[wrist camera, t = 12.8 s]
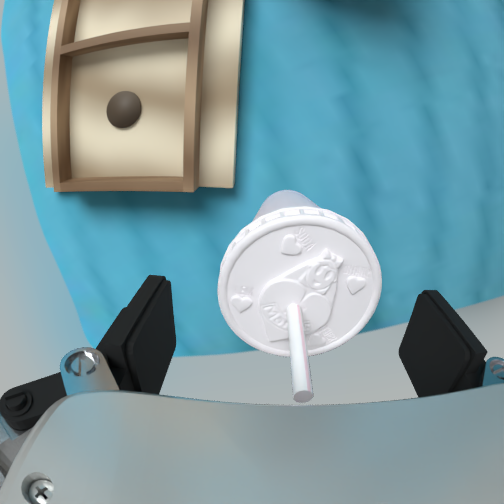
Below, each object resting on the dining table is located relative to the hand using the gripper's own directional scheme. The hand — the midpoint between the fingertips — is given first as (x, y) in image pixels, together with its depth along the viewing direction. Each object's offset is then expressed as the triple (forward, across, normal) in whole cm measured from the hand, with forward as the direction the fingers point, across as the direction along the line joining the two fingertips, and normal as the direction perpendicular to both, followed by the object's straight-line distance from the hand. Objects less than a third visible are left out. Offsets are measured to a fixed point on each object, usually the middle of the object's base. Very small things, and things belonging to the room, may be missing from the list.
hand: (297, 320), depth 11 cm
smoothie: (+11, 0, -1) cm, 11 cm away
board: (+10, +10, -17) cm, 22 cm away
